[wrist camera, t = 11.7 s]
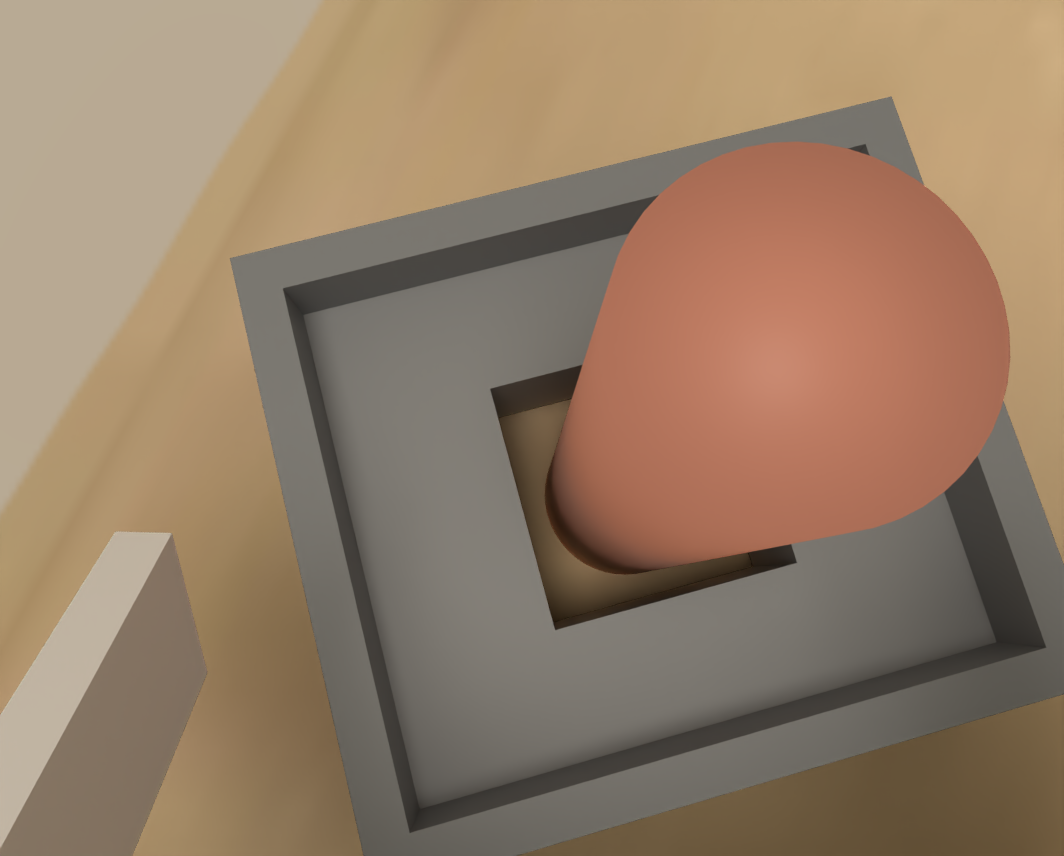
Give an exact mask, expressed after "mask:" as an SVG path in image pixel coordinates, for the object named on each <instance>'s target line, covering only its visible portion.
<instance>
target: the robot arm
mask: <svg viewBox="0 0 1064 856" xmlns="http://www.w3.org/2000/svg"><path fill="white" fill-rule="evenodd" d="M206 675H207V669H206V665H205V661H204V657H203V653H202V649H201V646H200V642H199V638H198V634H197V630H196V626H195V622H194V618H193V614H192V610H191V606H190V602H189V598H188V594H187V591H186V587H185V583H184V579H183V575H182V571H181V567H180V563H179V559H178V555H177V551H176V547H175V543H174V540H173V536H172V533H151V532H115V533H114V535H113V536H112V538H111V539H110V541H109V543H108V544H107V546H106V547H105V549H104V551H103V552H102V554H101V555H100V557H99V559H98V560H97V562H96V563H95V565H94V566H93V568H92V570H91V571H90V573H89V574H88V576H87V578H86V579H85V581H84V582H83V584H82V586H81V587H80V589H79V590H78V592H77V594H76V595H75V597H74V598H73V600H72V602H71V603H70V605H69V606H68V608H67V610H66V611H65V613H64V614H63V616H62V618H61V619H60V621H59V622H58V624H57V626H56V627H55V629H54V630H53V632H52V633H51V635H50V637H49V638H48V640H47V641H46V643H45V645H44V646H43V648H42V649H41V651H40V653H39V654H38V656H37V657H36V659H35V661H34V662H33V664H32V665H31V667H30V669H29V670H28V672H27V673H26V675H25V677H24V678H23V680H22V681H21V683H20V685H19V686H18V688H17V689H16V691H15V692H14V694H13V696H12V697H11V699H10V700H9V702H8V704H7V705H6V707H5V708H4V710H3V712H2V713H1V715H0V856H132V855H133V853H134V850H135V848H136V846H137V843H138V841H139V838H140V836H141V833H142V831H143V829H144V826H145V824H146V821H147V819H148V816H149V814H150V811H151V809H152V807H153V804H154V802H155V799H156V797H157V794H158V792H159V789H160V787H161V785H162V782H163V780H164V777H165V775H166V772H167V770H168V768H169V765H170V763H171V760H172V758H173V755H174V753H175V750H176V748H177V746H178V743H179V741H180V738H181V736H182V733H183V731H184V728H185V726H186V724H187V721H188V719H189V716H190V714H191V711H192V709H193V707H194V704H195V702H196V699H197V697H198V694H199V692H200V689H201V687H202V685H203V682H204V680H205V677H206Z"/></svg>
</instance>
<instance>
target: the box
mask: <svg viewBox="0 0 1064 856" xmlns="http://www.w3.org/2000/svg"><path fill="white" fill-rule="evenodd" d="M778 142H809V143H822V144H827V145H832V146H838V147H843V148H848V149H851V150H854V151H857V152H860V153H863V154H866V155H869V156H872V157H874V158H877V159H879V160H881V161H883V162H885V163H888V164H890V165H892V166H894V167H896V168H898V169H899V170H901V171H903V172H904V173H906V174H908V175H909V176H911V177H913V178H914V179H916V180H917V181H919V182H920V183H921V184H923V181H922V178H921V176H920V173H919V170H918V167H917V165H916V162H915V159H914V157H913V154H912V151H911V148H910V146H909V143H908V140H907V138H906V135H905V132H904V129H903V127H902V124H901V121H900V119H899V116H898V113H897V110H896V108H895V105H894V102H893V99H892V97H888V98H883V99H879V100H875V101H871V102H867V103H863V104H859V105H855V106H851V107H847V108H843V109H838V110H834V111H830V112H826V113H822V114H818V115H814V116H810V117H806V118H802V119H798V120H793V121H789V122H785V123H781V124H777V125H773V126H769V127H765V128H761V129H757V130H753V131H748V132H744V133H740V134H736V135H732V136H728V137H724V138H720V139H716V140H712V141H708V142H704V143H699V144H695V145H691V146H687V147H683V148H679V149H675V150H671V151H667V152H663V153H659V154H654V155H650V156H646V157H642V158H638V159H634V160H630V161H626V162H622V163H618V164H614V165H609V166H605V167H601V168H597V169H593V170H589V171H585V172H581V173H577V174H573V175H569V176H564V177H560V178H556V179H552V180H548V181H544V182H540V183H536V184H532V185H528V186H524V187H519V188H515V189H511V190H507V191H503V192H499V193H495V194H491V195H487V196H483V197H479V198H474V199H470V200H466V201H462V202H458V203H454V204H450V205H446V206H442V207H438V208H434V209H430V210H425V211H421V212H417V213H413V214H409V215H405V216H401V217H397V218H393V219H389V220H385V221H380V222H376V223H372V224H368V225H364V226H360V227H356V228H352V229H348V230H344V231H340V232H335V233H331V234H327V235H323V236H319V237H315V238H311V239H307V240H303V241H299V242H295V243H290V244H286V245H282V246H278V247H274V248H270V249H266V250H262V251H258V252H254V253H250V254H245V255H241V256H237V257H233V258H230V261H231V265H232V270H233V274H234V279H235V283H236V288H237V292H238V297H239V301H240V306H241V310H242V315H243V319H244V323H245V328H246V332H247V337H248V341H249V346H250V350H251V355H252V359H253V364H254V368H255V373H256V377H257V382H258V386H259V390H260V395H261V399H262V404H263V408H264V413H265V417H266V422H267V426H268V431H269V435H270V440H271V444H272V449H273V453H274V458H275V462H276V466H277V471H278V475H279V480H280V484H281V489H282V493H283V498H284V502H285V507H286V511H287V516H288V520H289V525H290V529H291V533H292V538H293V542H294V547H295V551H296V556H297V560H298V565H299V569H300V574H301V578H302V583H303V587H304V592H305V596H306V601H307V605H308V609H309V614H310V618H311V623H312V627H313V632H314V636H315V641H316V645H317V650H318V654H319V659H320V663H321V668H322V672H323V677H324V681H325V685H326V690H327V694H328V699H329V703H330V708H331V712H332V717H333V721H334V726H335V730H336V735H337V739H338V744H339V748H340V752H341V757H342V761H343V766H344V770H345V775H346V779H347V784H348V788H349V793H350V797H351V802H352V806H353V811H354V815H355V820H356V824H357V828H358V833H359V837H360V842H361V846H362V851H363V855H364V856H517V855H521V854H524V853H528V852H531V851H534V850H538V849H541V848H544V847H548V846H551V845H555V844H558V843H561V842H565V841H568V840H572V839H575V838H578V837H582V836H585V835H589V834H592V833H595V832H599V831H602V830H605V829H609V828H612V827H616V826H619V825H622V824H626V823H629V822H633V821H636V820H639V819H643V818H646V817H649V816H653V815H656V814H660V813H663V812H666V811H670V810H673V809H677V808H680V807H683V806H687V805H690V804H694V803H697V802H700V801H704V800H707V799H710V798H714V797H717V796H721V795H724V794H727V793H731V792H734V791H738V790H741V789H744V788H748V787H751V786H754V785H758V784H761V783H765V782H768V781H771V780H775V779H778V778H782V777H785V776H788V775H792V774H795V773H799V772H802V771H805V770H809V769H812V768H815V767H819V766H822V765H826V764H829V763H832V762H836V761H839V760H843V759H846V758H849V757H853V756H856V755H859V754H863V753H866V752H870V751H873V750H876V749H880V748H883V747H887V746H890V745H893V744H897V743H900V742H904V741H907V740H910V739H914V738H917V737H920V736H924V735H927V734H931V733H934V732H937V731H941V730H944V729H948V728H951V727H954V726H958V725H961V724H965V723H968V722H971V721H975V720H978V719H981V718H985V717H988V716H992V715H995V714H998V713H1002V712H1005V711H1009V710H1012V709H1015V708H1019V707H1022V706H1025V705H1029V704H1032V703H1036V702H1039V701H1042V700H1046V699H1049V698H1053V697H1056V696H1059V695H1063V694H1064V564H1063V562H1062V559H1061V556H1060V553H1059V551H1058V548H1057V545H1056V543H1055V540H1054V537H1053V534H1052V532H1051V529H1050V526H1049V523H1048V521H1047V518H1046V515H1045V513H1044V510H1043V507H1042V504H1041V502H1040V499H1039V496H1038V494H1037V491H1036V488H1035V485H1034V483H1033V480H1032V477H1031V475H1030V472H1029V469H1028V466H1027V464H1026V461H1025V458H1024V456H1023V453H1022V450H1021V447H1020V445H1019V442H1018V439H1017V437H1016V434H1015V431H1014V428H1013V426H1012V423H1011V420H1010V417H1009V415H1008V412H1007V409H1006V407H1005V404H1004V401H1003V404H1002V408H1001V410H1000V413H999V415H998V418H997V420H996V423H995V425H994V428H993V430H992V432H991V434H990V436H989V437H988V439H987V441H986V443H985V444H984V446H983V448H982V450H981V451H980V453H979V454H978V456H977V457H976V458H975V459H974V461H973V462H972V463H971V465H970V466H969V467H968V468H967V470H966V471H965V472H964V474H962V475H961V476H960V477H959V478H958V479H957V480H956V481H955V482H954V483H953V484H952V485H951V486H950V487H949V488H948V489H947V490H946V491H945V492H943V493H942V494H940V495H939V496H938V497H936V498H935V499H933V500H932V501H931V502H929V503H928V504H926V505H925V506H924V507H922V508H920V509H918V510H916V511H914V512H912V513H910V514H908V515H906V516H904V517H902V518H901V519H898V520H895V521H892V522H889V523H887V524H884V525H881V526H878V527H875V528H871V529H866V530H861V531H856V532H851V533H846V534H841V535H836V536H830V537H825V538H820V539H815V540H810V541H804V542H799V543H794V544H789V545H783V546H778V547H773V548H768V549H763V550H757V551H752V552H749V555H750V559H751V562H752V565H753V567H750V568H747V569H743V570H740V571H736V572H732V573H729V574H725V575H722V576H718V577H714V578H711V579H707V580H704V581H700V582H696V583H693V584H689V585H686V586H682V587H679V588H675V589H671V590H668V591H664V592H661V593H657V594H653V595H650V596H646V597H643V598H639V599H635V600H632V601H628V602H625V603H621V604H617V605H614V606H610V607H607V608H603V609H599V610H596V611H592V612H589V613H585V614H581V615H578V616H574V617H571V618H567V619H564V620H560V621H556V622H553V621H552V617H551V614H550V610H549V606H548V602H547V599H546V595H545V591H544V587H543V584H542V580H541V576H540V573H539V569H538V565H537V561H536V558H535V554H534V550H533V547H532V543H531V539H530V535H529V532H528V528H527V524H526V521H525V517H524V513H523V509H522V506H521V502H520V498H519V494H518V491H517V487H516V483H515V480H514V476H513V472H512V468H511V465H510V461H509V457H508V454H507V450H506V446H505V442H504V439H503V435H502V431H501V427H500V424H499V420H498V418H499V417H503V416H507V415H511V414H515V413H518V412H522V411H526V410H530V409H534V408H537V407H541V406H545V405H549V404H553V403H557V402H560V401H564V400H568V399H572V396H573V393H574V390H575V387H576V384H577V381H578V378H579V375H580V372H581V368H582V365H583V362H584V359H585V356H586V353H587V350H588V347H589V343H590V340H591V337H592V334H593V331H594V328H595V325H596V322H597V318H598V315H599V312H600V309H601V306H602V303H603V300H604V297H605V293H606V290H607V287H608V284H609V281H610V278H611V275H612V272H613V269H614V266H615V263H616V260H617V257H618V254H619V252H620V250H621V248H622V246H623V244H624V242H625V240H626V238H627V236H628V234H629V232H630V231H631V229H632V228H633V226H634V225H635V224H636V222H637V221H638V219H639V218H640V216H641V215H642V213H643V212H644V211H645V210H646V209H647V208H648V206H649V205H650V204H651V203H652V202H653V201H654V200H655V199H656V198H657V197H658V196H659V194H660V193H662V192H663V191H664V190H665V189H666V188H668V187H669V186H670V185H671V184H672V183H674V182H675V181H676V180H677V179H678V178H680V177H681V176H683V175H685V174H686V173H688V172H689V171H691V170H693V169H694V168H696V167H697V166H699V165H701V164H703V163H705V162H707V161H709V160H712V159H714V158H716V157H718V156H720V155H723V154H726V153H729V152H732V151H736V150H739V149H742V148H745V147H750V146H756V145H762V144H767V143H778ZM923 185H924V184H923Z"/></svg>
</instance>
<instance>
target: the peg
mask: <svg viewBox="0 0 1064 856" xmlns="http://www.w3.org/2000/svg"><path fill="white" fill-rule="evenodd" d="M1009 363H1010V340H1009V327H1008V322H1007V316H1006V310H1005V305H1004V302H1003V298H1002V295H1001V292H1000V289H999V285H998V282H997V280H996V277H995V275H994V273H993V271H992V269H991V266H990V264H989V262H988V260H987V258H986V256H985V254H984V253H983V251H982V249H981V248H980V246H979V245H978V243H977V241H976V240H975V238H974V236H973V235H972V234H971V232H970V231H969V230H968V229H967V227H966V226H965V225H964V224H963V222H962V221H961V220H960V219H959V217H958V216H957V215H956V214H955V213H954V212H953V211H952V210H951V209H950V208H949V207H948V206H947V205H946V204H945V203H944V202H943V201H942V200H941V199H940V198H939V197H938V196H937V195H935V194H934V193H933V192H932V191H930V190H929V189H928V188H926V187H925V186H924V185H923V184H921V183H920V182H919V181H917V180H916V179H914V178H913V177H911V176H909V175H908V174H906V173H904V172H903V171H901V170H899V169H898V168H896V167H894V166H892V165H890V164H888V163H885V162H883V161H881V160H879V159H877V158H874V157H872V156H869V155H866V154H863V153H860V152H857V151H854V150H851V149H848V148H843V147H838V146H832V145H827V144H822V143H809V142H778V143H767V144H762V145H756V146H750V147H745V148H742V149H739V150H736V151H732V152H729V153H726V154H723V155H720V156H718V157H716V158H714V159H712V160H709V161H707V162H705V163H703V164H701V165H699V166H697V167H696V168H694V169H693V170H691V171H689V172H688V173H686V174H685V175H683V176H681V177H680V178H678V179H677V180H676V181H675V182H674V183H672V184H671V185H670V186H669V187H668V188H666V189H665V190H664V191H663V192H662V193H660V194H659V196H658V197H657V198H656V199H655V200H654V201H653V202H652V203H651V204H650V205H649V206H648V208H647V209H646V210H645V211H644V212H643V213H642V215H641V216H640V218H639V219H638V221H637V222H636V224H635V225H634V226H633V228H632V229H631V231H630V232H629V234H628V236H627V238H626V240H625V242H624V244H623V246H622V248H621V250H620V252H619V254H618V257H617V260H616V263H615V266H614V269H613V272H612V275H611V278H610V281H609V284H608V287H607V290H606V293H605V297H604V300H603V303H602V306H601V309H600V312H599V315H598V318H597V322H596V325H595V328H594V331H593V334H592V337H591V340H590V343H589V347H588V350H587V353H586V356H585V359H584V362H583V365H582V368H581V372H580V375H579V378H578V381H577V384H576V387H575V390H574V393H573V396H572V400H571V403H570V406H569V409H568V412H567V415H566V418H565V421H564V425H563V428H562V431H561V434H560V437H559V440H558V443H557V446H556V450H555V453H554V456H553V459H552V462H551V465H550V468H549V471H548V475H547V480H546V486H545V502H546V509H547V514H548V517H549V520H550V523H551V526H552V528H553V530H554V532H555V534H556V535H557V537H558V538H559V540H560V541H561V543H562V544H563V545H564V546H565V547H566V549H567V550H568V551H569V552H570V553H572V554H573V555H574V556H575V557H576V558H578V559H579V560H580V561H582V562H583V563H585V564H587V565H589V566H591V567H593V568H595V569H598V570H601V571H604V572H608V573H613V574H637V573H643V572H648V571H653V570H658V569H663V568H669V567H674V566H679V565H684V564H690V563H695V562H700V561H705V560H710V559H716V558H721V557H726V556H731V555H736V554H742V553H747V552H752V551H757V550H763V549H768V548H773V547H778V546H783V545H789V544H794V543H799V542H804V541H810V540H815V539H820V538H825V537H830V536H836V535H841V534H846V533H851V532H856V531H861V530H866V529H871V528H875V527H878V526H881V525H884V524H887V523H889V522H892V521H895V520H898V519H901V518H902V517H904V516H906V515H908V514H910V513H912V512H914V511H916V510H918V509H920V508H922V507H924V506H925V505H926V504H928V503H929V502H931V501H932V500H933V499H935V498H936V497H938V496H939V495H940V494H942V493H943V492H945V491H946V490H947V489H948V488H949V487H950V486H951V485H952V484H953V483H954V482H955V481H956V480H957V479H958V478H959V477H960V476H961V475H962V474H964V472H965V471H966V470H967V468H968V467H969V466H970V465H971V463H972V462H973V461H974V459H975V458H976V457H977V456H978V454H979V453H980V451H981V450H982V448H983V446H984V444H985V443H986V441H987V439H988V437H989V436H990V434H991V432H992V430H993V428H994V425H995V423H996V420H997V418H998V415H999V413H1000V410H1001V408H1002V404H1003V399H1004V395H1005V391H1006V387H1007V383H1008V373H1009Z"/></svg>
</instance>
